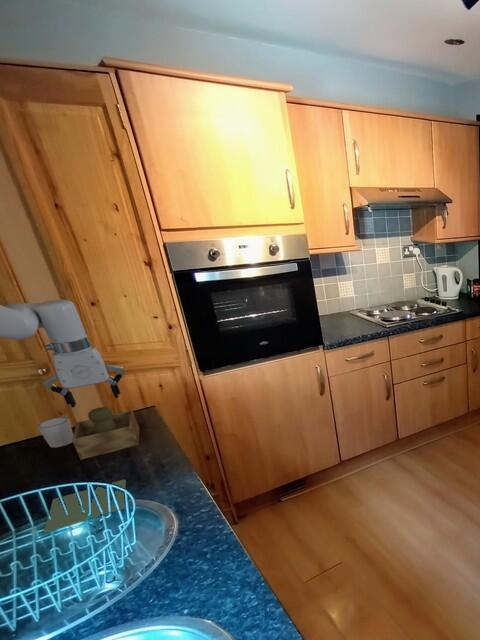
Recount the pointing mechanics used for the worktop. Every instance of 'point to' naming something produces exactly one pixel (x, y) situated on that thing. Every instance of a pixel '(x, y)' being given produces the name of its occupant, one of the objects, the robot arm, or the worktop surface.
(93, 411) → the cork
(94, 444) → the basket
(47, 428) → the grey cup
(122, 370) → the robot arm
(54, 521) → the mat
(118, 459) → the worktop surface
